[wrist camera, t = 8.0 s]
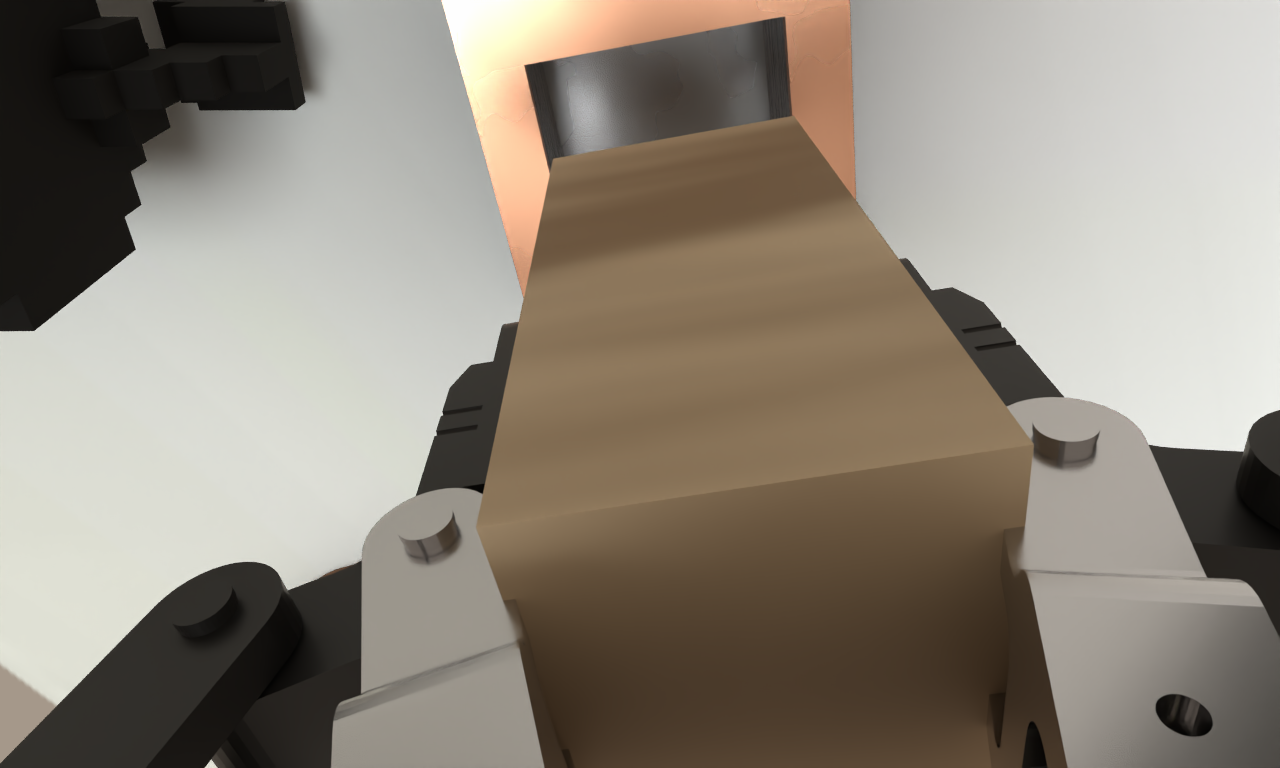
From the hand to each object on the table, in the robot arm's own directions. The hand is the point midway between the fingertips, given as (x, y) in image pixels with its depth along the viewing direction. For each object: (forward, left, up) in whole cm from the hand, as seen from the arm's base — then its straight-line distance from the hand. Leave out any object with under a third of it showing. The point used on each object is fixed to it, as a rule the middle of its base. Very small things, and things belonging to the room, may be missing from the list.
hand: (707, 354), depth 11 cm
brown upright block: (0, 0, -4) cm, 4 cm away
